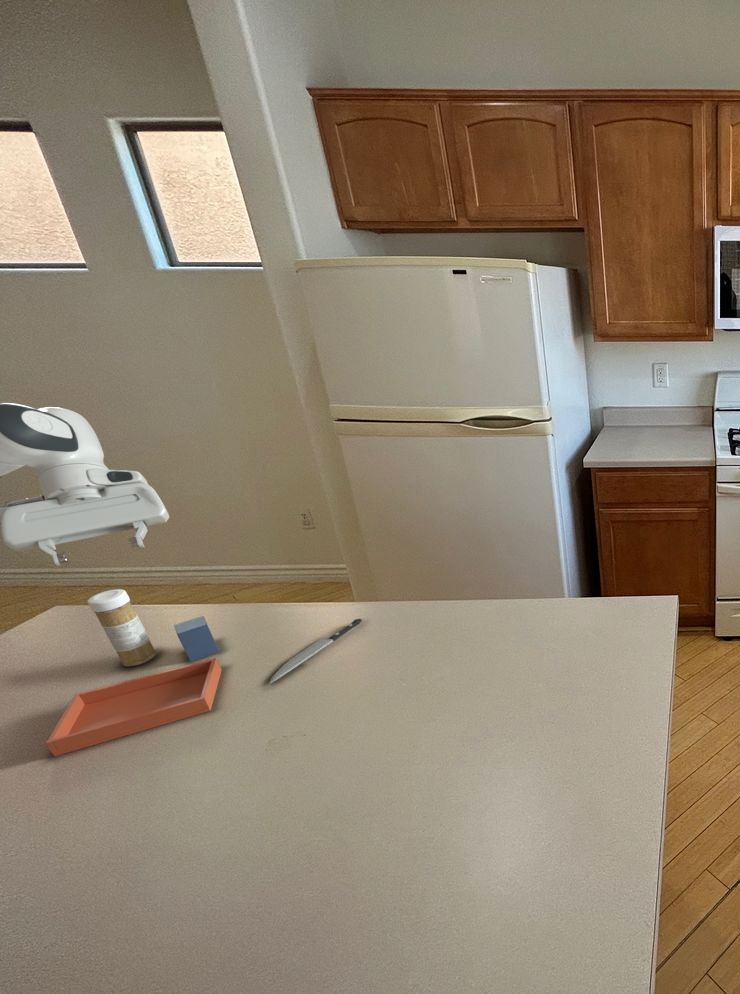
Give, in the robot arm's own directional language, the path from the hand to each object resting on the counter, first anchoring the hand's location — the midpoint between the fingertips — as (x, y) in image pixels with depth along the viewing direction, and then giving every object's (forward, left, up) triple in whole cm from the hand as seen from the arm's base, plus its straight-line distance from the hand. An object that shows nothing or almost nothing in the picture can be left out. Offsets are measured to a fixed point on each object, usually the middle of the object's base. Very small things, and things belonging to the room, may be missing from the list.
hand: (101, 555), depth 99 cm
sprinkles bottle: (+2, -11, -17) cm, 20 cm away
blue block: (+11, -14, -16) cm, 25 cm away
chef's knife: (+28, -24, -16) cm, 41 cm away
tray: (+6, -28, -16) cm, 33 cm away
